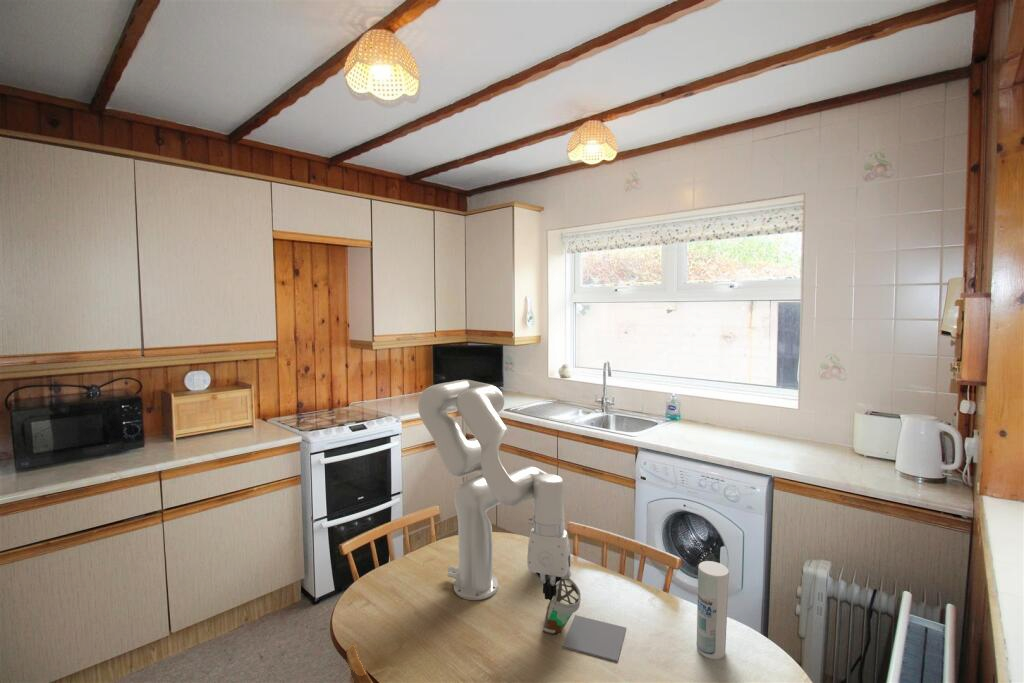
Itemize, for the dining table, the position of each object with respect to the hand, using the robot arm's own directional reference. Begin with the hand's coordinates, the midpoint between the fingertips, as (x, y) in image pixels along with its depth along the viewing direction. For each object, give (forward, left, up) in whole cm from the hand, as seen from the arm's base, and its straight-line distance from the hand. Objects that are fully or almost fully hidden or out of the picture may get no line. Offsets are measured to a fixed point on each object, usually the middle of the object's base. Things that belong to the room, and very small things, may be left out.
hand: (549, 596), depth 123 cm
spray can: (+37, +6, -8) cm, 39 cm away
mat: (+11, 0, -8) cm, 14 cm away
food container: (+1, 0, -7) cm, 8 cm away
